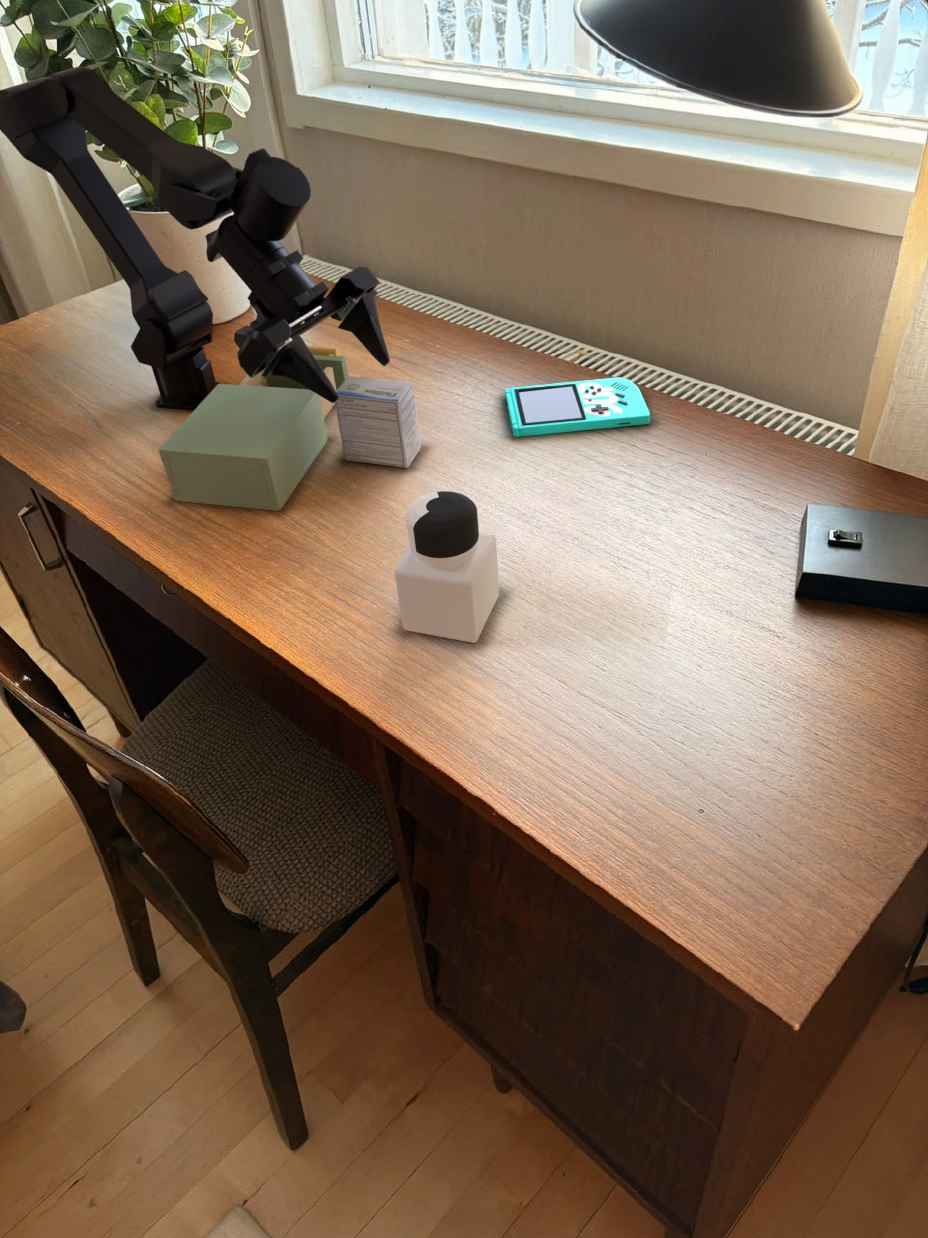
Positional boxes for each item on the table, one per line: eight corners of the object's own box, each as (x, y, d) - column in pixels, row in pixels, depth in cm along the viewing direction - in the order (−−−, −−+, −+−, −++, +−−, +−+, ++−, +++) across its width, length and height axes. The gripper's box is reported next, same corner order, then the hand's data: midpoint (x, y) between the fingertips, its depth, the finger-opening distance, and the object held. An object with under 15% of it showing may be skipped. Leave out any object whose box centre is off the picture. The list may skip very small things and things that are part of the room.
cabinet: (231, 432, 115) (218, 383, 110) (328, 440, 112) (318, 389, 107) (175, 500, 104) (158, 449, 100) (279, 511, 101) (266, 458, 97)
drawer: (281, 369, 124) (274, 334, 121) (363, 374, 122) (357, 339, 118) (221, 441, 111) (211, 405, 108) (311, 448, 109) (303, 411, 106)
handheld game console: (650, 425, 109) (651, 414, 108) (513, 438, 109) (512, 428, 108) (633, 383, 116) (633, 373, 116) (504, 396, 116) (504, 386, 116)
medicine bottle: (500, 594, 88) (494, 487, 80) (476, 645, 83) (467, 536, 75) (429, 582, 90) (416, 477, 82) (402, 631, 85) (385, 524, 78)
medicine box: (422, 449, 109) (414, 380, 103) (407, 470, 105) (398, 400, 100) (360, 441, 111) (348, 373, 105) (344, 461, 108) (331, 393, 102)
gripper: (292, 278, 112) (379, 381, 115) (179, 343, 101) (277, 455, 104) (332, 219, 104) (425, 331, 106) (213, 282, 92) (319, 406, 95)
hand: (362, 381), depth 103 cm, fingers open, 9 cm apart
